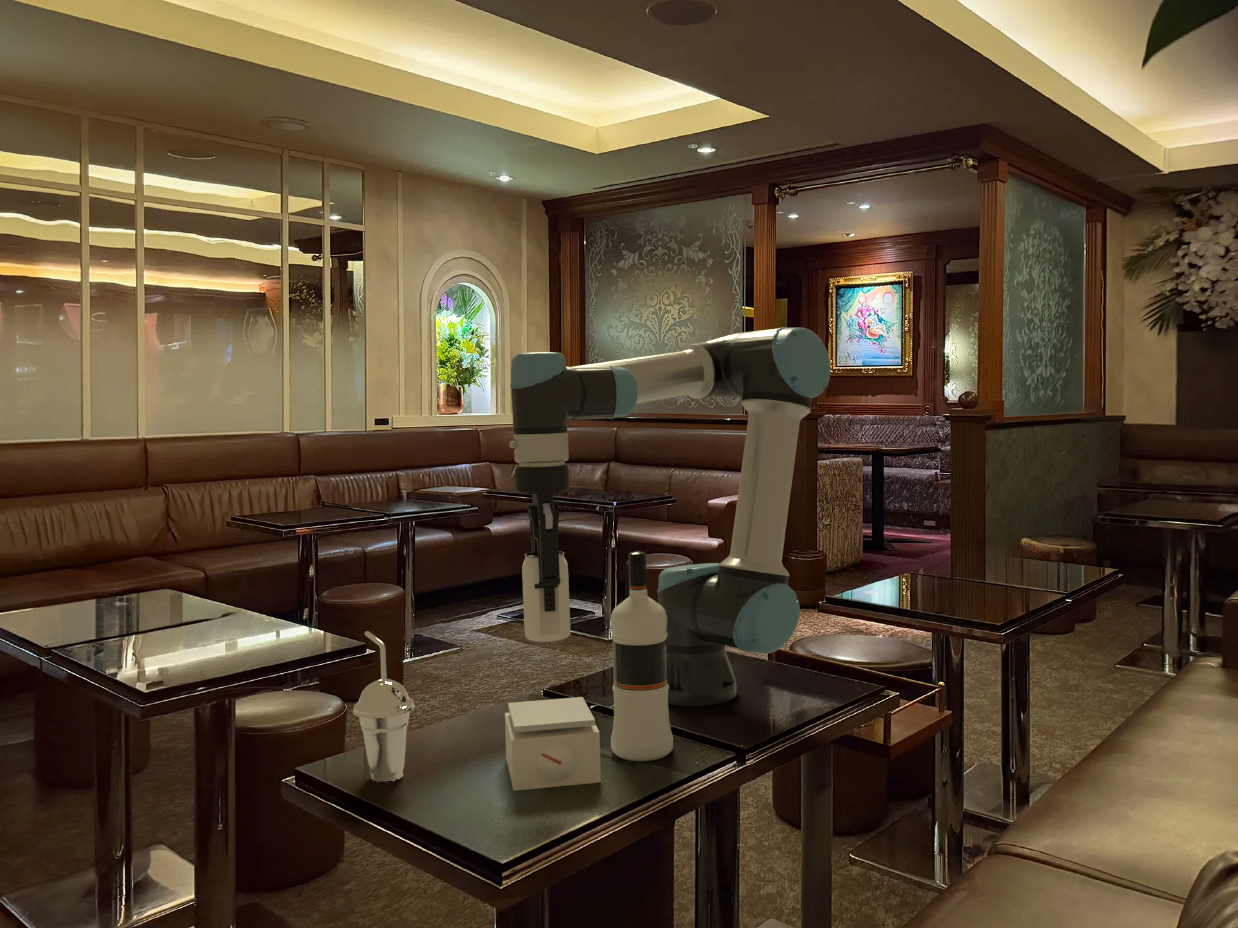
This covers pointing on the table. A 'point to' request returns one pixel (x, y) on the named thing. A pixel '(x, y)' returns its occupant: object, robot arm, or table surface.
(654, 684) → the vodka
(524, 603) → the can
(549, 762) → the scale
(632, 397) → the robot arm
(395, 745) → the cup with straw
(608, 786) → the table surface
